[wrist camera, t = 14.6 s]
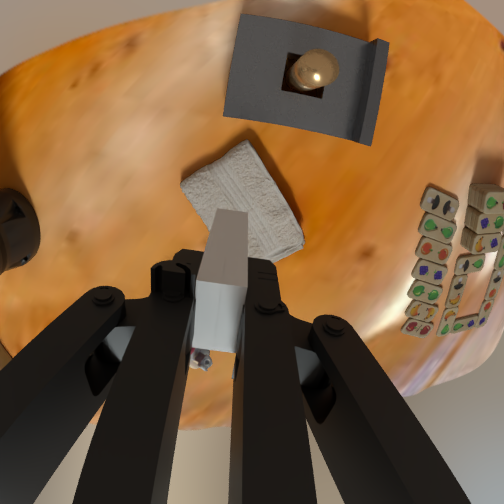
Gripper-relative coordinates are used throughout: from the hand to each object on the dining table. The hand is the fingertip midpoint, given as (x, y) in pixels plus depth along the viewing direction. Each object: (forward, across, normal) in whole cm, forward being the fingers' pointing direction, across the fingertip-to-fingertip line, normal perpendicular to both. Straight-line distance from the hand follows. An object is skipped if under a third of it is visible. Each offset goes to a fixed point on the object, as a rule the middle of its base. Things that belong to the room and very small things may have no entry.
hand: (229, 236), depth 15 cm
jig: (+28, -6, -12) cm, 31 cm away
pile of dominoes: (+29, -46, +12) cm, 56 cm away
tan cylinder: (+28, -6, -12) cm, 31 cm away
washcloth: (+29, -2, +8) cm, 30 cm away
